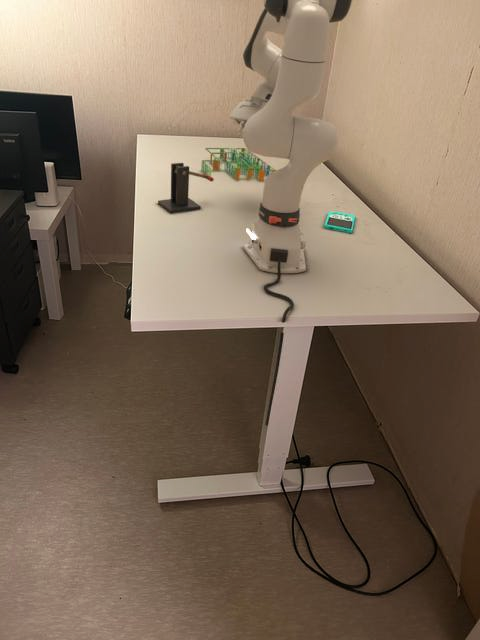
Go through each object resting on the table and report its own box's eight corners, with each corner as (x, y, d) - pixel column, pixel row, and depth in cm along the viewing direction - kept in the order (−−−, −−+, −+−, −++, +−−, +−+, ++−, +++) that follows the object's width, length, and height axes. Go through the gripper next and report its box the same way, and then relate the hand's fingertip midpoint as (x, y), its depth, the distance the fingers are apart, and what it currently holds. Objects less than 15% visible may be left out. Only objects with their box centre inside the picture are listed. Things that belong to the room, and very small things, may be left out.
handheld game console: (355, 218, 175) (356, 214, 174) (352, 233, 162) (353, 230, 161) (328, 213, 176) (329, 209, 176) (323, 228, 163) (324, 224, 162)
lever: (204, 178, 170) (206, 172, 169) (212, 183, 167) (214, 176, 166) (172, 170, 161) (173, 163, 160) (179, 175, 158) (181, 168, 157)
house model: (275, 180, 204) (277, 169, 202) (212, 182, 193) (213, 170, 191) (245, 157, 230) (246, 148, 228) (188, 158, 220) (188, 148, 217)
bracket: (187, 199, 173) (188, 159, 165) (200, 209, 167) (202, 168, 159) (157, 203, 167) (157, 162, 159) (170, 213, 161) (171, 170, 152)
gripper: (239, 92, 164) (217, 124, 163) (279, 97, 150) (255, 131, 150) (248, 106, 169) (227, 136, 168) (288, 111, 155) (264, 144, 154)
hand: (240, 134), depth 159 cm, fingers closed
